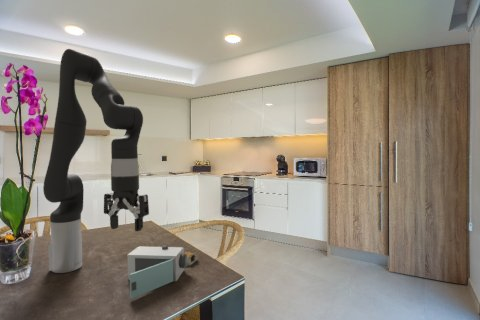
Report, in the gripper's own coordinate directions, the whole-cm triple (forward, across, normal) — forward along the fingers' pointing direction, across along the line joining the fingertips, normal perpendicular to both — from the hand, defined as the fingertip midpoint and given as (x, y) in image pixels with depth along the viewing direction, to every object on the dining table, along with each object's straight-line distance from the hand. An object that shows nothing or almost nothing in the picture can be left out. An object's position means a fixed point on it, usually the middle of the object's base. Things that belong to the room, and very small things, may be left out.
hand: (126, 229), depth 84 cm
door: (+18, -8, -2) cm, 19 cm away
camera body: (+18, -2, -12) cm, 22 cm away
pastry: (+19, -5, -25) cm, 31 cm away
